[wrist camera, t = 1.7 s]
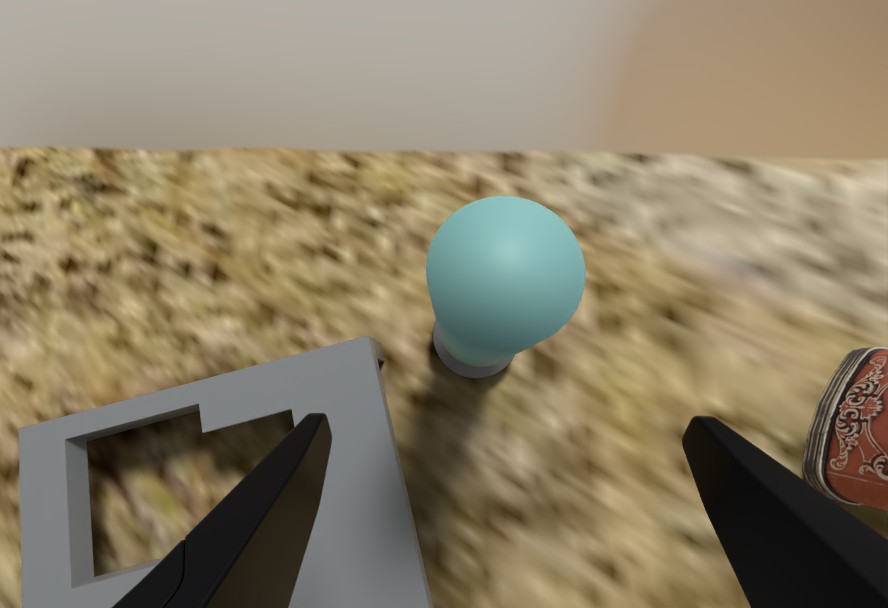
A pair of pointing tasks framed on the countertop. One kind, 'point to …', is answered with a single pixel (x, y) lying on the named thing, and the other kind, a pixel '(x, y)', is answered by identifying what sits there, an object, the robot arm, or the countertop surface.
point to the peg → (500, 282)
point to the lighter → (852, 432)
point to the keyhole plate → (223, 405)
